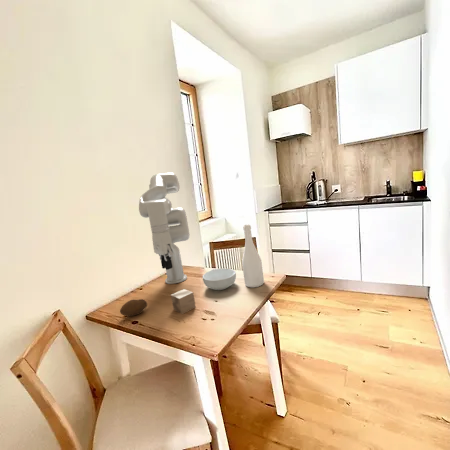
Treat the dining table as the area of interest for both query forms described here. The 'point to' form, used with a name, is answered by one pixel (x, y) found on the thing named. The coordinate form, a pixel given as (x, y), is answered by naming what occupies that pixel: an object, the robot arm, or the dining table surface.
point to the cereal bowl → (219, 278)
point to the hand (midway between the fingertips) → (167, 267)
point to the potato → (133, 307)
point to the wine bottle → (251, 261)
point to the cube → (183, 301)
